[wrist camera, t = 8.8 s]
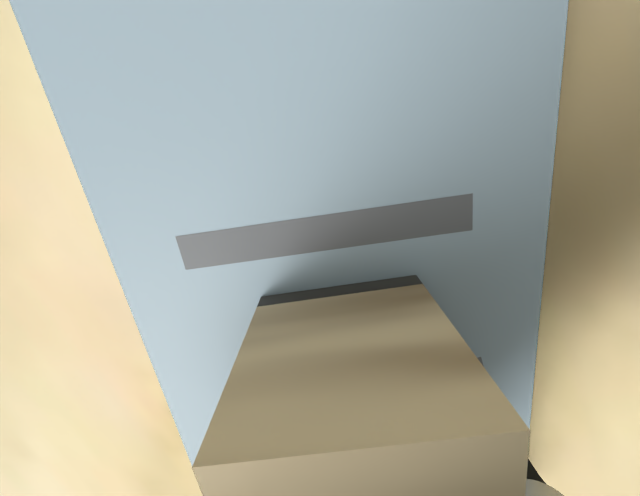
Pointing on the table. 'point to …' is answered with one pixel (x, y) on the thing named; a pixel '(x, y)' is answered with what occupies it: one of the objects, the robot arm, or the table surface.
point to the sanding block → (360, 403)
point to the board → (309, 163)
